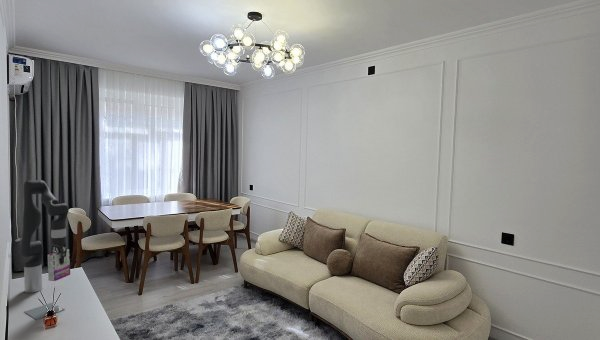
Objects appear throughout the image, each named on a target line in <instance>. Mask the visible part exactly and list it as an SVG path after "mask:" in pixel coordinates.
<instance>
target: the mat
mask: <svg viewBox="0 0 600 340" xmlns="http://www.w3.org/2000/svg"><path fill="white" fill-rule="evenodd" d="M53 303H54V302H49V303H47V304H43V305H39V306H37V307H34V308H31V309H28V310H25V311H24V313H25V314H26V315H28V316H29V317H30V318H32V319H34V320H37V321H38V320H40V319H43V318H45V317H44V316H45V315H46V314H47V311H48V310H47V309H46V306H48V308H49V309H50V310H51V309H52V305H53ZM58 307H60V305H57V306H55V307H54V311H55V312H57V313H59V312H58V311H59V308H58ZM61 308H62V310H63V311H65V308H63V307H61Z"/></svg>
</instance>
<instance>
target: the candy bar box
mask: <svg viewBox="0 0 600 340" xmlns="http://www.w3.org/2000/svg"><path fill="white" fill-rule="evenodd" d="M60 253H61V252H60ZM70 261H71V255H70V249H67V252H66V257H64V263H63V264H60V263H59V254H58V253H57V252H54V253H52V252H51V253H49V254H47V272H48V273H47V274H48V282H49V281H51V282H56V281H59V280H61V279H63V278H66V277H68V276H70V275H71V262H70Z"/></svg>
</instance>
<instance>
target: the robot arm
mask: <svg viewBox="0 0 600 340" xmlns="http://www.w3.org/2000/svg"><path fill="white" fill-rule="evenodd" d="M40 194H42V196H41V198H40V201H41V203H42V204H43V205H44V206H45V207H46V211H47V214H48V215H49V216H51V217H54V216H55V217H56V216H58V217H56V218H53V220H51V228H50V229H51V230H50V231H51V232H50V244H51V245H50V249H51V253H54V252H57V253H58V254H59V263H60V264H63V263H64V257H66V252H67V250H68V249H67V247H65V246H64V244H67V243H66V242H67V229H66V221H67V217H68V214H69V211H70V209H69V208H70V207H69V205H68V204H67V203H66V202H65V203H60V201H59V200H58V198H56V197H55V196H54V194H53V193H52V192H51V190H50V188H49V186H48V185H47V183H46V182H45V180H41V179H32V180H26V181H24V184H23V216H22V235H21V242H20V255H21V256H22V257H23V258H27V257H30V258H29V259H28V260H26V261H25V262H23V269H24V270H23V273H24V275H23V277H24V279H23V280H24V293H25V292H26V293H25V294H27V293H28V294H32V293H36V292H39V291H41V290H43V269H42V268H43V264H42V263H43V258H44V257H43V256H44V255H43V254H44V246H43V242H41V240H34V241H32V237H33V235H34V234H35V232H36V231H37V229H39V227H40V226H41V223H42V212H41V210H40V209H39V208H38V206H37V205H36V204H35V202H34V201H33V195H40ZM60 252H61V253H60Z"/></svg>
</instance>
